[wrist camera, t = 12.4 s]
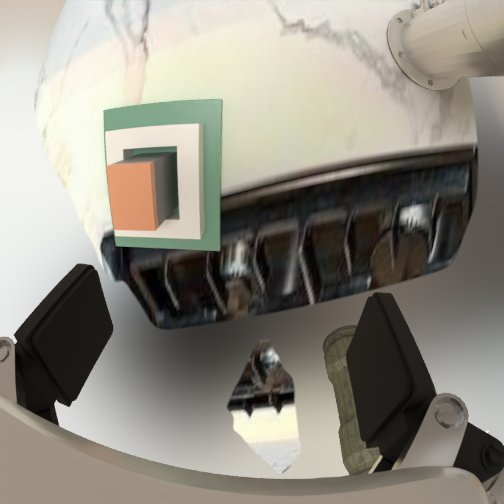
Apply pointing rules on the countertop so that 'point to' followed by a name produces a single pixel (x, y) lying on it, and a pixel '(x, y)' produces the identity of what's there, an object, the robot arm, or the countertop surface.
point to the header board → (211, 162)
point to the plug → (143, 190)
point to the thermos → (347, 403)
